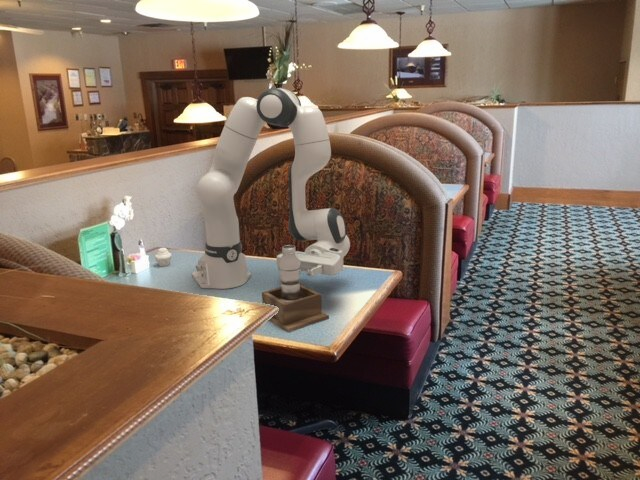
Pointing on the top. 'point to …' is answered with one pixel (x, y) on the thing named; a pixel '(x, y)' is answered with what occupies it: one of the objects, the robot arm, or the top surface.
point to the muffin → (163, 257)
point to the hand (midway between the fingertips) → (295, 270)
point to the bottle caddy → (295, 309)
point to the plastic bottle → (289, 274)
